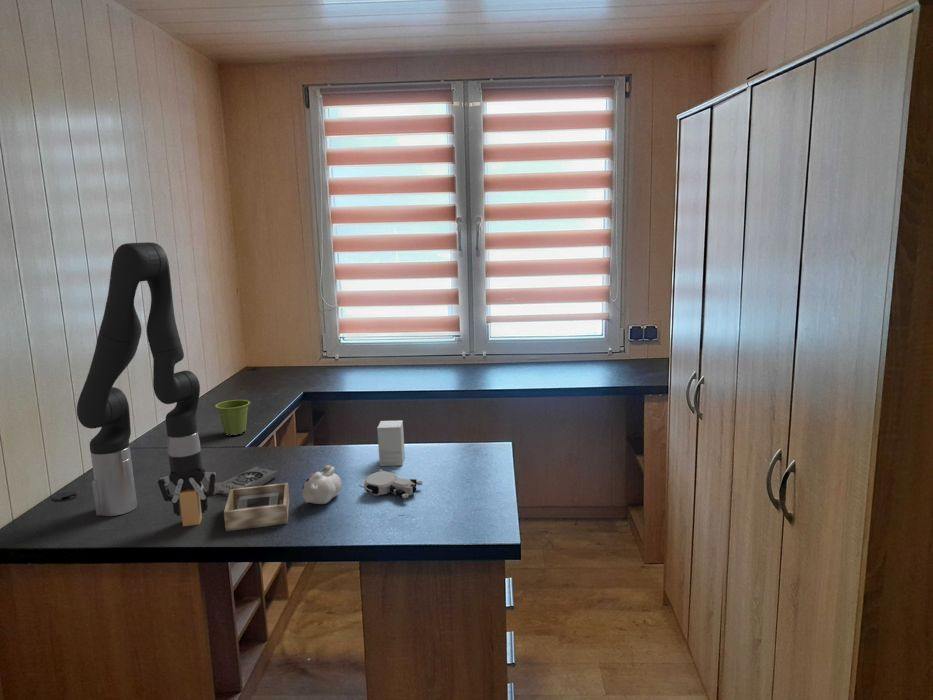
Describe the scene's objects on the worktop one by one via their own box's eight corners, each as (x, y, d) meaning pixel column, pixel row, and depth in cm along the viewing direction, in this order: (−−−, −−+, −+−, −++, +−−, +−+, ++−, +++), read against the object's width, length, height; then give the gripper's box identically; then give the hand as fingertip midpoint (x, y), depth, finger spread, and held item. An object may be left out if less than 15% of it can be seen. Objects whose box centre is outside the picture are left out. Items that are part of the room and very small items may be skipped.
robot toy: (424, 490, 190) (377, 481, 195) (425, 476, 189) (378, 466, 194) (406, 508, 179) (356, 497, 184) (406, 492, 178) (356, 482, 183)
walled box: (225, 531, 166) (223, 512, 165) (232, 506, 180) (230, 489, 179) (287, 523, 169) (286, 505, 168) (289, 500, 184) (288, 482, 183)
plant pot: (259, 431, 245) (256, 401, 243) (232, 440, 235) (229, 410, 233) (237, 426, 251) (235, 397, 249) (211, 435, 241) (208, 405, 239)
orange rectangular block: (182, 526, 169) (179, 493, 168) (185, 519, 173) (181, 487, 171) (199, 524, 170) (196, 491, 169) (201, 517, 174) (198, 485, 172)
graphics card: (245, 490, 184) (212, 482, 189) (246, 503, 184) (213, 495, 189) (286, 469, 199) (254, 463, 204) (286, 481, 199) (255, 475, 204)
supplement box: (405, 457, 214) (403, 419, 212) (402, 466, 207) (400, 427, 204) (382, 458, 214) (380, 420, 212) (378, 466, 207) (376, 427, 205)
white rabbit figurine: (332, 457, 189) (305, 470, 175) (354, 473, 188) (330, 488, 173) (316, 484, 191) (289, 499, 177) (339, 500, 190) (313, 517, 175)
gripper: (150, 458, 163) (158, 523, 166) (212, 452, 166) (219, 516, 169) (156, 448, 170) (164, 510, 173) (216, 442, 173) (222, 504, 176)
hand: (191, 513), depth 171 cm, fingers open, 5 cm apart
